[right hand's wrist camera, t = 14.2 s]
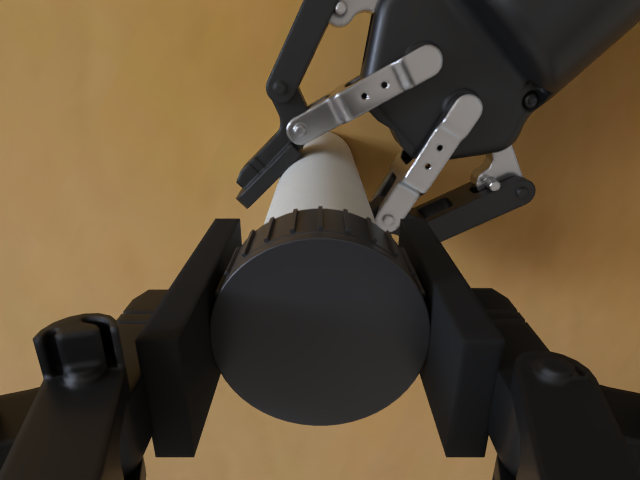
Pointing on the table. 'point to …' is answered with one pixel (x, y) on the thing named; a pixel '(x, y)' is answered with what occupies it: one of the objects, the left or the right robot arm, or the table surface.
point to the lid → (320, 318)
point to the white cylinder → (321, 181)
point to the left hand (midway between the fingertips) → (281, 231)
